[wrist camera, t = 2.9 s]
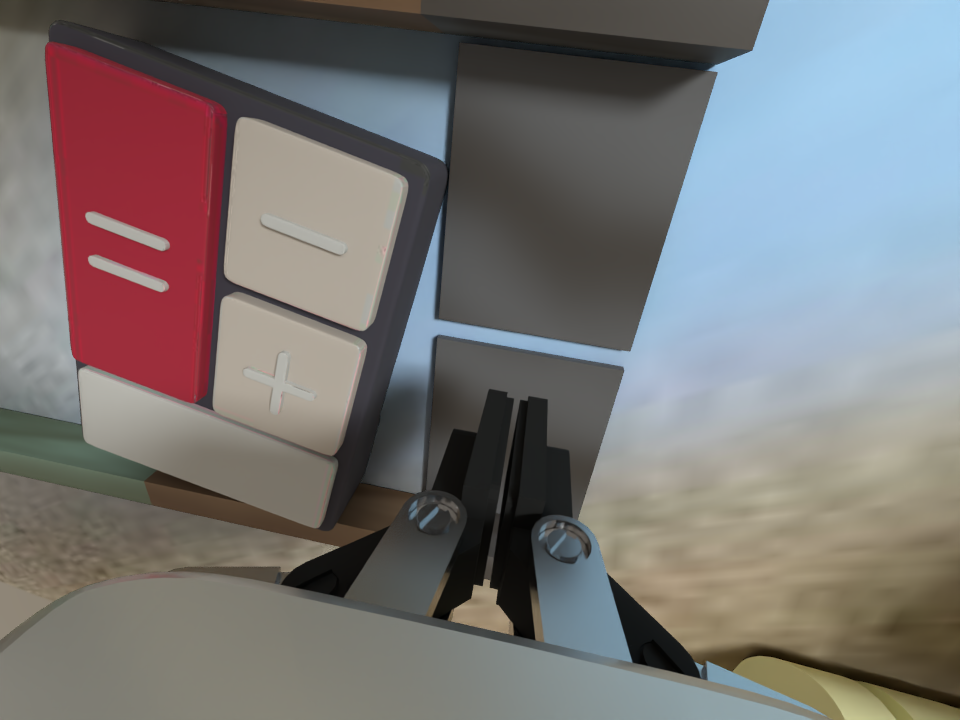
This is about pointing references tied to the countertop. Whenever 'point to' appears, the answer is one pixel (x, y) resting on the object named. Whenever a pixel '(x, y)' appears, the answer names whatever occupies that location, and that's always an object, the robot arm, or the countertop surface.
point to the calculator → (230, 272)
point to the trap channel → (503, 228)
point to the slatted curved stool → (840, 693)
